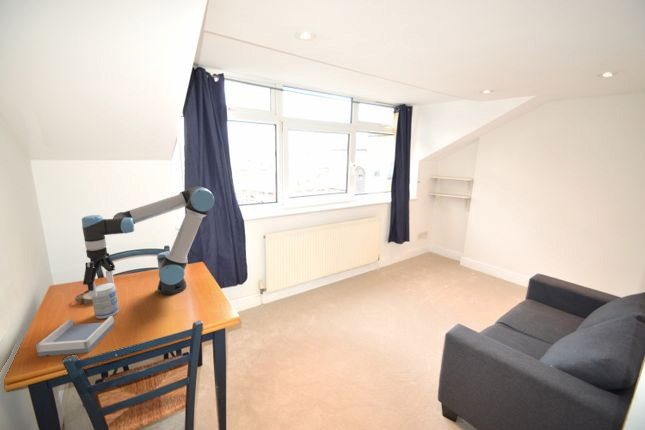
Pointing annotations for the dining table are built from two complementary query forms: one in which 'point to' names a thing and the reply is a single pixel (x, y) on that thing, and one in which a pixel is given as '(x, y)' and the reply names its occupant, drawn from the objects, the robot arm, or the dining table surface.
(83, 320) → the dining table surface
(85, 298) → the alarm clock
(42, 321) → the dining table surface
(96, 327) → the dock
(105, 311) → the supplement tub
